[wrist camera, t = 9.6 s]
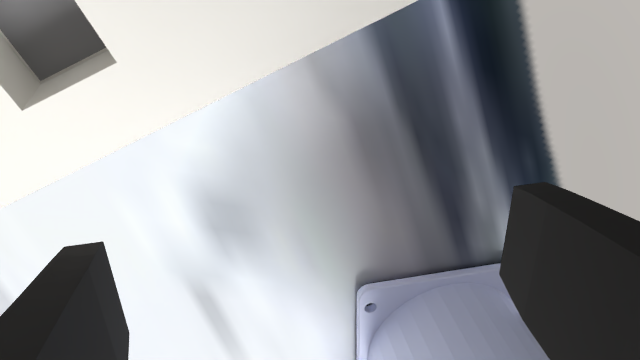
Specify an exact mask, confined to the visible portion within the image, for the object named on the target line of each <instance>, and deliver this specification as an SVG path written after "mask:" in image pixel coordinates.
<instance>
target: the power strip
mask: <svg viewBox="0 0 640 360" xmlns="http://www.w3.org/2000/svg"><path fill="white" fill-rule="evenodd" d="M416 1H418V0H0V209H1V208H3V207H5V206H7V205H9V204H11V203H13V202H15V201H17V200H19V199H21V198H23V197H25V196H27V195H29V194H31V193H33V192H35V191H37V190H39V189H41V188H43V187H45V186H47V185H49V184H51V183H53V182H55V181H57V180H59V179H61V178H63V177H65V176H67V175H69V174H71V173H73V172H75V171H77V170H79V169H81V168H83V167H85V166H87V165H89V164H91V163H93V162H95V161H97V160H99V159H101V158H103V157H105V156H107V155H109V154H111V153H113V152H115V151H117V150H119V149H121V148H123V147H125V146H127V145H129V144H131V143H133V142H135V141H137V140H139V139H141V138H143V137H145V136H147V135H149V134H151V133H153V132H155V131H157V130H159V129H161V128H163V127H165V126H167V125H169V124H171V123H173V122H175V121H177V120H179V119H181V118H183V117H185V116H187V115H189V114H191V113H193V112H195V111H197V110H199V109H201V108H203V107H205V106H207V105H209V104H211V103H213V102H215V101H217V100H219V99H221V98H223V97H225V96H227V95H229V94H231V93H233V92H235V91H237V90H239V89H241V88H243V87H245V86H247V85H249V84H251V83H253V82H255V81H257V80H259V79H261V78H263V77H265V76H267V75H269V74H271V73H273V72H275V71H277V70H279V69H281V68H283V67H285V66H287V65H289V64H291V63H293V62H295V61H297V60H299V59H301V58H303V57H306V56H308V55H310V54H312V53H314V52H316V51H318V50H320V49H322V48H324V47H326V46H328V45H330V44H332V43H334V42H336V41H338V40H340V39H342V38H344V37H346V36H348V35H350V34H352V33H354V32H356V31H358V30H360V29H362V28H364V27H366V26H368V25H370V24H372V23H374V22H376V21H378V20H380V19H382V18H384V17H386V16H388V15H390V14H392V13H394V12H396V11H398V10H400V9H402V8H404V7H406V6H408V5H410V4H412V3H414V2H416Z"/></svg>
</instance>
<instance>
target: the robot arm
mask: <svg viewBox="0 0 640 360" xmlns="http://www.w3.org/2000/svg"><path fill="white" fill-rule="evenodd" d="M369 303H373V304H372V305H370V306H366V305H367V304H369ZM128 351H129V330H128V327H127V323H126V320H125V316H124V313H123V309H122V306H121V302H120V299H119V295H118V292H117V288H116V285H115V281H114V278H113V274H112V271H111V267H110V264H109V260H108V257H107V253H106V250H105V246H104V243H103V242H96V243H89V244H82V245H74V246H67V247H63V249H62V250H61V251H60V252H59V253H58V254H57V255H56V256H55V257H54V258H53V259H52V260H51V261H50V262H49V263H48V265H47V266H46V267H45V268H44V269H43V270H42V271H41V272H40V273H39V275H38V276H37V277H36V278H35V279H34V280H33V281H32V282H31V284H30V285H29V286H28V287H27V288H26V289H25V290H24V291H23V292H22V294H21V295H20V296H19V297H18V298H17V299H16V300H15V301H14V302H13V303H12V305H11V306H10V307H9V308H8V309H7V310H6V311H5V312H4V313H3V314H2V315H1V316H0V360H128ZM357 360H640V221H637V220H635V219H633V218H631V217H628V216H626V215H624V214H622V213H619V212H617V211H615V210H613V209H610V208H608V207H606V206H603V205H601V204H599V203H596V202H594V201H592V200H590V199H587V198H585V197H583V196H580V195H578V194H576V193H573V192H571V191H568V190H566V189H563V188H560V187H558V186H555V185H552V184H549V183H546V182H542V183H535V184H527V185H520V186H514V189H513V195H512V201H511V207H510V213H509V218H508V224H507V230H506V236H505V242H504V248H503V254H502V260H501V263H499V264H492V265H486V266H479V267H473V268H467V269H460V270H454V271H447V272H441V273H435V274H428V275H422V276H416V277H409V278H403V279H396V280H390V281H384V282H377V283H371V284H367V285H364V286H362V287H361V288H360V289H359V290H358V292H357Z"/></svg>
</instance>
